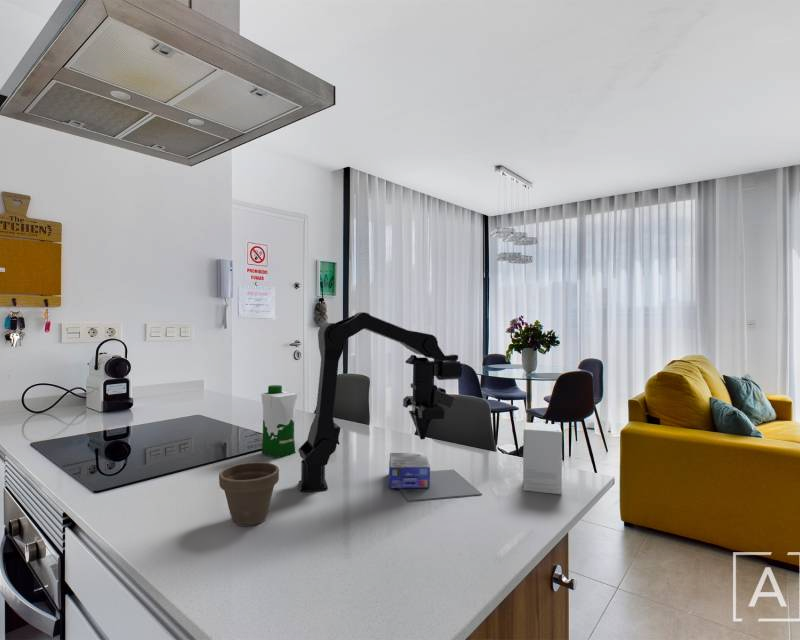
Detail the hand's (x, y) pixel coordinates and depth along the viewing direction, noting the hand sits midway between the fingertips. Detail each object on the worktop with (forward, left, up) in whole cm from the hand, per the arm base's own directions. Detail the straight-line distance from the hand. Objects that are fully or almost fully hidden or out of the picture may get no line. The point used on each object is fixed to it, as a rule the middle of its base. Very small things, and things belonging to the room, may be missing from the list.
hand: (422, 439), depth 124 cm
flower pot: (-20, +43, -9) cm, 48 cm away
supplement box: (-16, -26, -9) cm, 32 cm away
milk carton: (+26, +37, -9) cm, 46 cm away
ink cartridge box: (0, +4, -6) cm, 7 cm away
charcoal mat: (-9, 0, -9) cm, 13 cm away
